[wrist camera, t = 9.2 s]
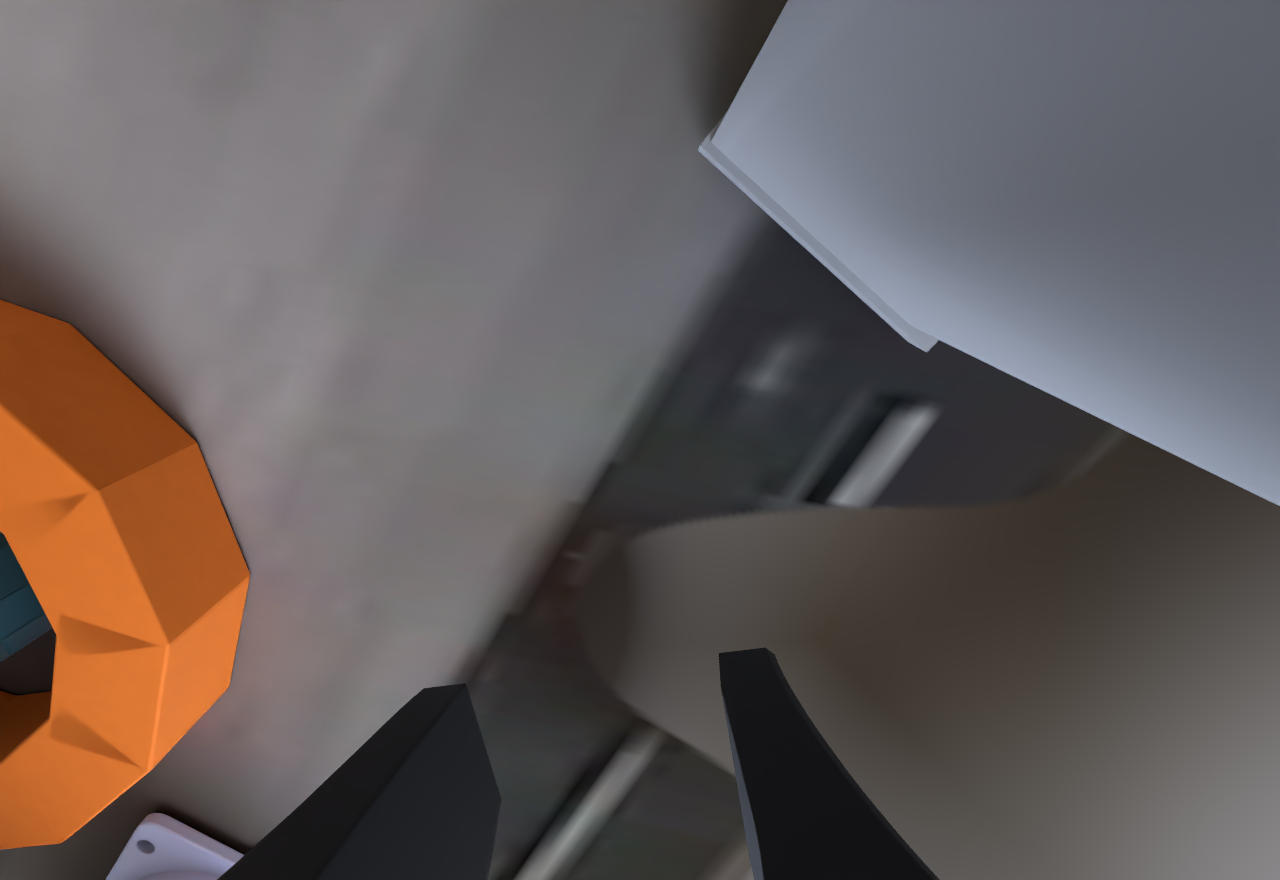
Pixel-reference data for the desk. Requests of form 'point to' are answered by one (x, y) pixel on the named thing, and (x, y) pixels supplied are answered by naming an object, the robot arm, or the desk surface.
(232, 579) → the ring
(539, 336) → the desk surface
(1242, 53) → the tall grey leaning box
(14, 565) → the cup
